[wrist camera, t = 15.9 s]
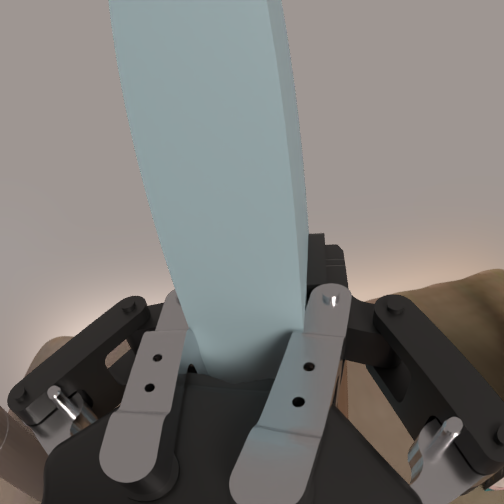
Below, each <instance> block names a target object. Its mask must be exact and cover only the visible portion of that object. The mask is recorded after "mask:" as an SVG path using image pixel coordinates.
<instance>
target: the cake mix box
mask: <svg viewBox="0 0 504 504" xmlns="http://www.w3.org/2000/svg"><path fill="white" fill-rule="evenodd" d="M490 490H504V467H503V468H502V469H500V470H499V471H498V472H497V473H495V474H494V475H493V476H491V477H490V478H489V479H487V480H486V483H485V490H484V491H490Z"/></svg>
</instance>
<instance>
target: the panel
mask: <svg viewBox="0 0 504 504" xmlns="http://www.w3.org/2000/svg"><path fill="white" fill-rule="evenodd" d="M109 8H110V16H111V24H112V31H113V39H114V45H115V52H116V58H117V64H118V69H119V75H120V80H121V87H122V91H123V97H124V102H125V107H126V112H127V117H128V121H129V126H130V130H131V134H132V139H133V143H134V147H135V152H136V156H137V160H138V164H139V168H140V172H141V176H142V180H143V183H144V187H145V191H146V195H147V199H148V202H149V206H150V209H151V213H152V216H153V220H154V223H155V227H156V230H157V233H158V236H159V240H160V243H161V246H162V250H163V253H164V256H165V259H166V263H167V266H168V269H169V271H170V275H171V278H172V281H173V284H174V287H175V290H176V293H177V296H178V299H179V301H180V304H181V307H182V310H183V313H184V316H185V318H186V321H187V324H188V327H189V329H191V330H192V331H193V332H194V334H195V337H196V340H197V342H198V345H199V351H200V354H201V357H202V360H203V362H204V365H205V367H206V370H207V372H208V374H209V375H210V376H211V377H214V378H217V379H220V380H223V381H227V382H230V383H242V382H249V381H255V380H261V379H268V378H273V379H275V378H276V376H277V373H278V370H279V368H280V365H281V362H282V360H283V357H284V354H285V352H286V349H287V346H288V343H289V340H290V338H291V335H292V333H293V332H294V331H296V332H304V317H305V310H306V307H307V261H308V234H309V231H308V215H307V202H306V189H305V178H304V167H303V156H302V146H301V136H300V127H299V118H298V110H297V103H296V102H297V101H296V93H295V86H294V80H293V79H294V78H293V71H292V64H291V58H290V51H289V44H288V37H287V31H286V25H285V19H284V14H283V8H282V3H281V0H109Z"/></svg>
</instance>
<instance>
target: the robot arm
mask: <svg viewBox="0 0 504 504" xmlns="http://www.w3.org/2000/svg"><path fill="white" fill-rule="evenodd" d="M125 339H126V340H127V342H128V344H129V345H130V347H131V349H130V350H129V351H128V352H127V353H126V354H124V355H123V356H122V357H121V358H120V359H119V360H118V361H116V362H115V363H114V364H113V365H112V366H111V367H110V368H108V369H107V367H106V365H105V358H106V356H107V355H108V354H109V353H110V352H111V351H112V350H114V349H115V348H116V347H117V346H118V345H119V344H121V343H122V342H123V341H124V340H125ZM346 360H349V361H353V362H357V363H362V364H366V368H367V370H368V371H369V373H370V374H371V376H372V377H373V379H374V380H375V382H376V383H377V385H378V386H379V388H380V389H381V391H382V392H383V394H384V395H385V397H386V398H387V400H388V401H389V403H390V404H391V406H392V407H393V409H394V411H395V412H396V414H397V415H398V417H399V418H400V420H401V421H402V423H403V424H404V426H405V427H406V429H407V431H408V432H409V434H410V435H411V437H412V438H413V440H414V443H413V444H412V446H411V447H410V449H409V452H408V463H409V465H410V468H411V472H412V478H411V482H410V484H408V483H407V482H406V481H405V480H404V479H403V478H402V477H401V476H400V475H399V474H398V473H397V472H396V471H395V470H394V469H393V468H392V467H391V465H390V464H389V463H388V462H387V461H386V460H385V459H384V458H383V457H382V456H381V455H380V454H379V453H378V452H377V451H376V449H375V448H374V447H373V446H372V445H371V444H370V443H369V442H368V441H367V440H366V439H365V438H364V436H363V435H362V434H361V433H360V432H359V431H358V430H357V429H356V428H355V427H354V426H353V424H352V423H351V422H350V421H349V420H348V419H347V418H346V417H345V416H344V414H343V413H342V412H341V411H340V410H339V409H338V408H337V403H338V398H339V392H340V387H341V382H342V377H343V372H344V366H345V361H346ZM7 402H8V406H9V408H10V409H11V410H12V411H13V412H14V413H15V414H16V415H17V416H18V417H19V418H20V419H21V420H22V422H23V423H24V424H25V425H26V426H27V427H28V428H29V429H30V430H31V431H32V432H34V434H35V436H36V437H37V439H38V440H39V442H38V441H37V440H36V439H35V438H34V437H33V436H31V435H30V434H29V433H28V432H27V431H26V430H25V429H24V428H23V427H21V426H20V425H19V424H18V423H17V422H16V421H15V420H14V419H13V418H12V417H11V416H10V415H9V414H8V413H7V412H6V411H5V410H4V409H3V408H2V407H1V406H0V477H1V478H3V479H4V480H6V481H7V482H9V483H10V484H12V485H13V486H15V487H16V488H18V489H20V490H21V491H23V492H24V493H26V494H28V495H29V496H31V497H33V498H35V499H36V500H38V501H41V502H42V503H41V504H448V503H450V502H451V501H453V500H454V499H456V498H457V497H458V496H461V495H465V494H467V493H469V492H470V491H472V490H473V489H475V488H476V487H478V486H479V485H480V484H482V483H483V482H485V481H486V480H487V479H489V478H490V477H491V476H493V475H494V474H495V473H497V472H498V471H499V470H500V469H502V468H503V467H504V402H503V400H502V399H501V398H500V397H499V396H498V394H497V393H496V392H495V391H494V390H493V389H492V387H491V386H490V385H489V384H488V383H487V381H486V380H485V379H484V378H483V377H482V376H481V375H480V373H479V372H478V371H477V370H476V369H475V368H474V367H473V366H472V364H471V363H470V362H469V361H468V360H467V359H466V358H465V357H464V356H463V354H462V353H461V352H460V351H459V350H458V349H457V348H456V347H455V346H454V345H453V344H452V343H451V341H450V340H449V339H448V338H447V337H446V336H445V335H444V334H443V333H442V332H441V331H440V330H439V329H438V328H437V327H436V326H435V325H434V324H433V323H432V321H431V320H430V319H429V318H428V317H427V316H426V315H425V314H424V313H423V312H422V311H421V310H420V309H419V308H418V307H417V306H416V305H415V304H414V303H413V302H412V301H411V300H409V299H408V298H406V297H404V296H401V295H386V296H383V297H381V298H379V299H378V300H377V301H376V303H375V304H371V303H366V302H363V301H360V300H358V299H356V298H355V297H353V296H352V295H351V292H350V291H349V289H348V282H347V275H346V267H345V261H344V253H343V250H342V249H341V248H340V247H339V246H338V245H325V238H324V233H321V234H308V261H307V307H306V310H305V317H304V332H296V331H294V332H293V333H292V335H291V338H290V340H289V343H288V346H287V349H286V352H285V354H284V357H283V360H282V362H281V365H280V368H279V370H278V373H277V376H276V378H275V379H273V378H268V379H261V380H255V381H249V382H242V383H230V382H227V381H223V380H220V379H217V378H214V377H211V376H210V375H209V374H208V372H207V370H206V367H205V365H204V362H203V360H202V357H201V354H200V351H199V345H198V342H197V340H196V337H195V334H194V332H193V331H192V330H191V329H189V327H188V324H187V321H186V318H185V316H184V313H183V310H182V307H181V304H180V301H179V299H178V296H177V293H176V290H175V289H174V290H173V291H171V292H170V293H169V294H168V295H167V297H166V299H165V302H164V303H160V304H155V305H150V306H147V303H146V301H145V299H144V298H143V297H140V296H131V297H128V298H125V299H123V300H121V301H120V302H118V303H117V304H116V305H114V306H113V307H112V308H111V309H109V310H108V311H107V312H105V313H104V314H103V315H102V316H100V317H99V318H98V319H96V320H95V321H94V322H93V323H92V324H90V325H89V326H88V327H86V328H85V329H84V330H82V331H81V332H80V333H79V334H77V335H76V336H75V337H74V338H72V339H71V340H70V341H69V342H67V343H66V344H65V345H64V346H62V347H61V348H60V349H59V350H57V351H56V352H55V353H54V354H52V355H51V356H50V357H49V358H48V359H46V360H45V361H44V362H43V363H41V364H40V365H39V366H38V367H37V368H35V369H34V370H33V371H32V372H31V373H29V374H28V375H27V376H26V377H25V378H23V379H22V380H21V381H20V382H19V383H18V384H16V385H15V386H14V387H13V388H12V390H11V391H10V393H9V395H8V400H7ZM120 403H121V405H120V406H118V405H119V404H120ZM117 406H118V407H117ZM116 407H117V408H116ZM113 409H114V410H113Z"/></svg>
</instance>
